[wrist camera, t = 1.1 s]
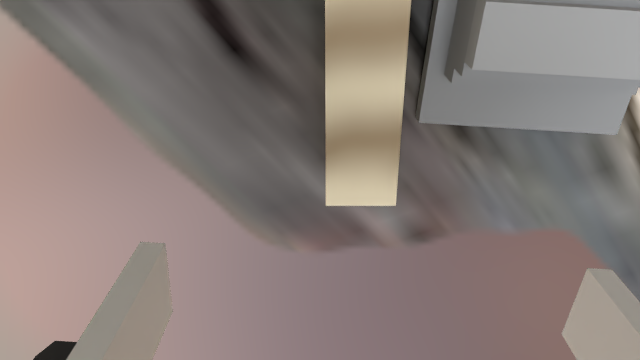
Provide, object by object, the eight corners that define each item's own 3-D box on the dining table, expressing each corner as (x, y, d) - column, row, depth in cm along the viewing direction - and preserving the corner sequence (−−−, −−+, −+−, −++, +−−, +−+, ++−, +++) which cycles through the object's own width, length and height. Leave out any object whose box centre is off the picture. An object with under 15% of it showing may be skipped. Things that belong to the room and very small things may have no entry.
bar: (324, -213, 22) (324, -250, 18) (409, -214, 22) (430, -252, 18) (326, 167, 31) (325, 205, 27) (386, 167, 31) (395, 205, 27)
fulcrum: (451, -109, 24) (486, -122, 19) (686, -94, 24) (787, -102, 19) (415, 116, 29) (434, 155, 24) (606, 127, 29) (667, 170, 24)
